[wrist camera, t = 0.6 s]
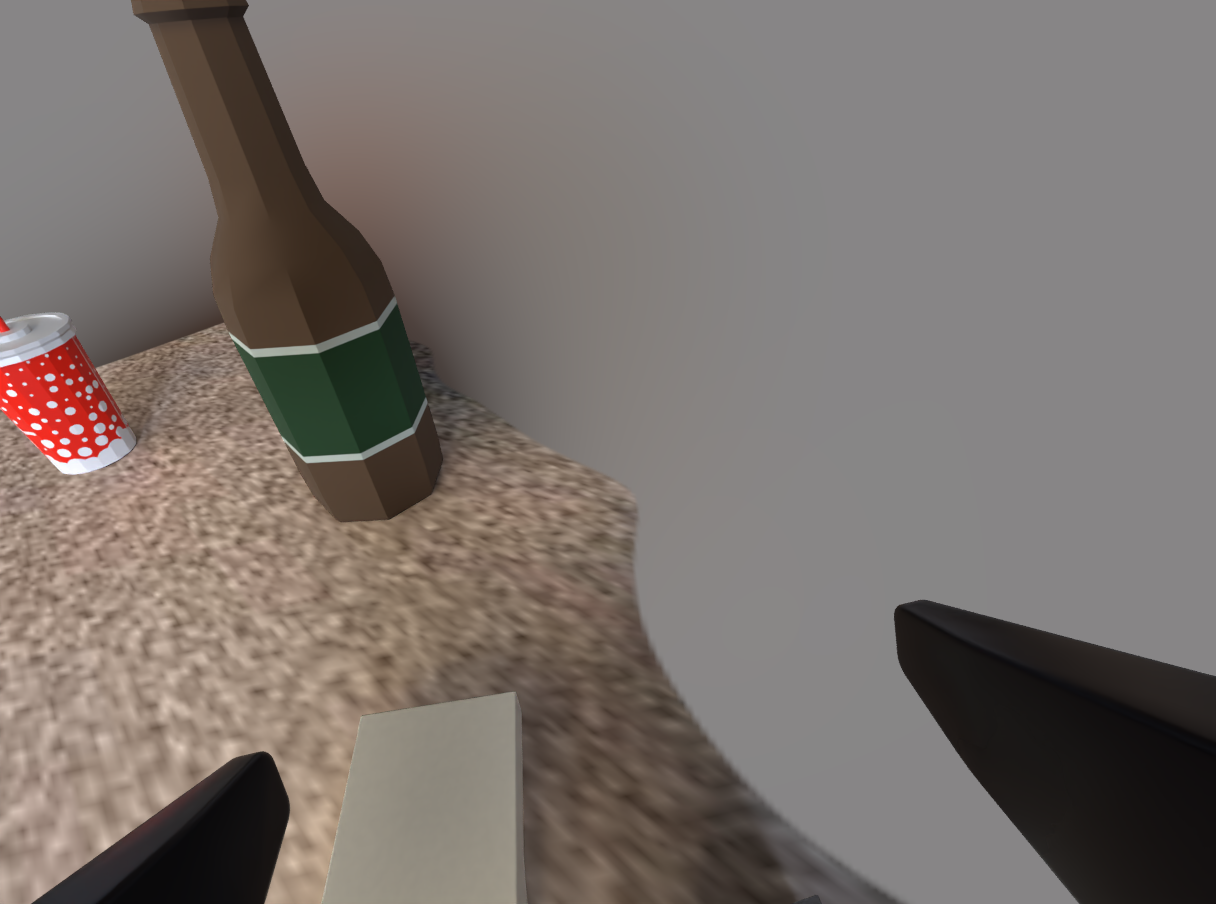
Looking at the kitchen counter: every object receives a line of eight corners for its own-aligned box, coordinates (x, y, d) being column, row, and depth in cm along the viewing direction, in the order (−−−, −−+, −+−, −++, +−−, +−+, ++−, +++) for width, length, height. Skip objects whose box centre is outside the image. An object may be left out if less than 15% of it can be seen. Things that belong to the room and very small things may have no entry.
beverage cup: (61, 441, 42) (-97, 244, 33) (157, 418, 44) (30, 224, 35) (29, 493, 37) (-163, 279, 29) (138, 465, 39) (-13, 255, 30)
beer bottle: (374, 434, 40) (198, -19, 25) (471, 455, 37) (338, -38, 23) (285, 510, 34) (-7, -15, 20) (392, 541, 32) (147, -40, 17)
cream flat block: (558, 1054, 16) (544, 1035, 14) (322, 1125, 15) (277, 1113, 13) (526, 720, 23) (514, 680, 21) (367, 756, 22) (342, 718, 21)
